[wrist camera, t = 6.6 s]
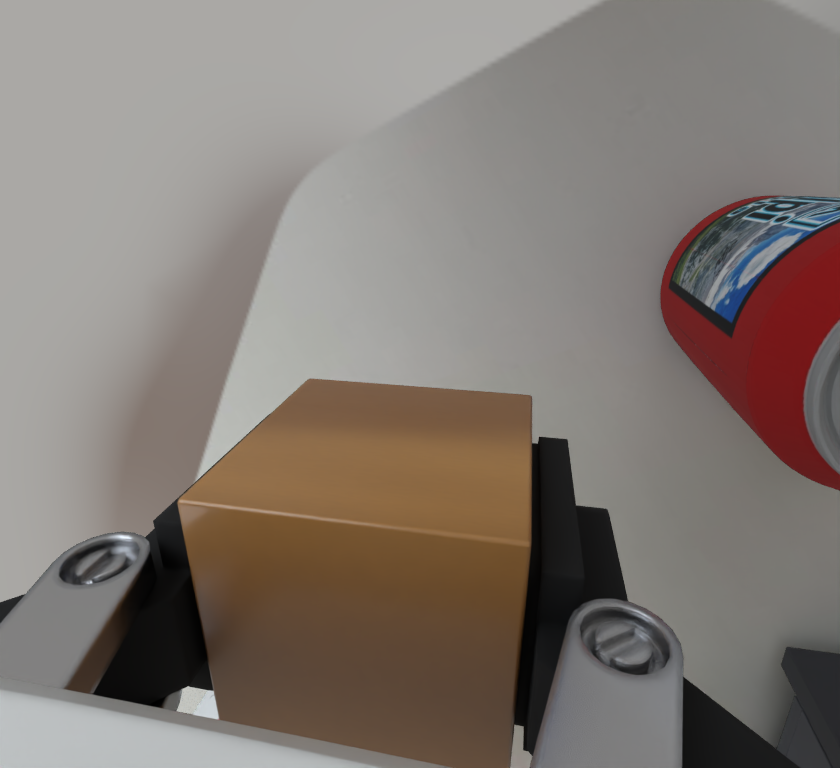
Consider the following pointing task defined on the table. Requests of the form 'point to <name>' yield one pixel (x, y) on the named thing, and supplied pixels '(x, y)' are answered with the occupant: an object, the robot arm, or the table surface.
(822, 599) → the table surface
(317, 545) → the block
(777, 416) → the beverage can
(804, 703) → the pull-out drawer
